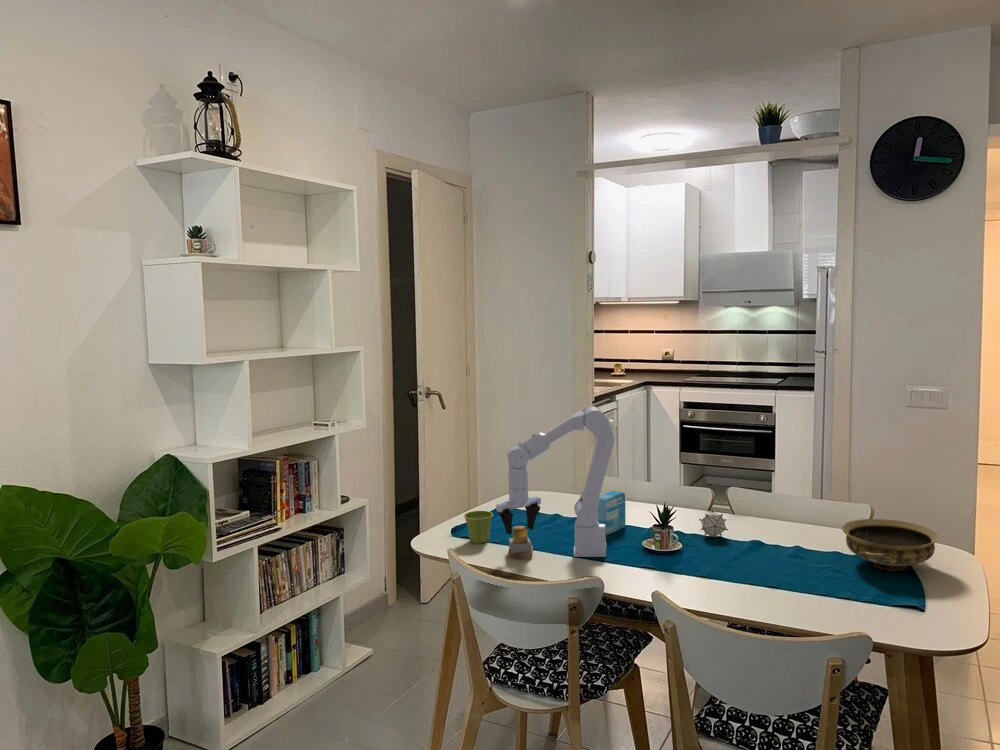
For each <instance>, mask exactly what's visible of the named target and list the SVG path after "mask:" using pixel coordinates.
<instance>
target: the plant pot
mask: <svg viewBox="0 0 1000 750" xmlns="http://www.w3.org/2000/svg"><path fill="white" fill-rule="evenodd" d="M463 517H464V519H465V522H466V526H467V529H468V530H467V531H468V536H469V541H470V542H471V543H473V544H481V545H482V544H483V543H488V542H489V541H490V534H491V524H492V519H493V517H494V513H493V512H491V511H488V510H474V511H473V510H471V511H468V512H465V513H464V514H463Z"/></svg>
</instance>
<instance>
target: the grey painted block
mask: <svg viewBox="0 0 1000 750" xmlns="http://www.w3.org/2000/svg"><path fill="white" fill-rule="evenodd" d="M531 545H532V542H531V540H530V538H529V537H528V541H527V542H526V543H514V542H513V537H512V538H511V537H510V538H508V547H509V548H510V550H511V553H518V552H532V549H531Z"/></svg>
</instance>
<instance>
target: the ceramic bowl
mask: <svg viewBox="0 0 1000 750" xmlns="http://www.w3.org/2000/svg"><path fill="white" fill-rule="evenodd" d="M841 531H842V532H843V533H844V534H845V535H846V536H845V543H846V546H847V547H848V549H849V550H850V552H852V553H853V554H854V555H856V556H857V557H860V558H862V559H863V560H867V561H869V562H872V563H873V566H874V567H876V568H878V569H881V570H886V571H893V572H894V571H904V570H905V569H906V568H907V566H914V565H918V564H921V563H923V562H926V561H928V560H929V559H930V558H932V556H933V555H934V554H935V552H936V551H935V550H936V549H935V548H936V547H935V546H936V545H935V543H936V542H938V541H939V540H940V534H939V533H938V531H936V530H934V529H933V528H931V527H928V526H925V525H921V524H919V523H914V522H908V521H904V520H897V519H886V518H883V519H882V518H880V519H879V518H865V519H854V520H851V521H848V522H845V523H844V524H843V525H841ZM906 570H907V569H906Z"/></svg>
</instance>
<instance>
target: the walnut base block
mask: <svg viewBox="0 0 1000 750" xmlns="http://www.w3.org/2000/svg"><path fill="white" fill-rule="evenodd" d="M531 549H532V552H518V553H511V550H510V548H509V549H508V552H507V557H508V560H532V559H533V554H534V553H533V552H534V547H533V544H531Z"/></svg>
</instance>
